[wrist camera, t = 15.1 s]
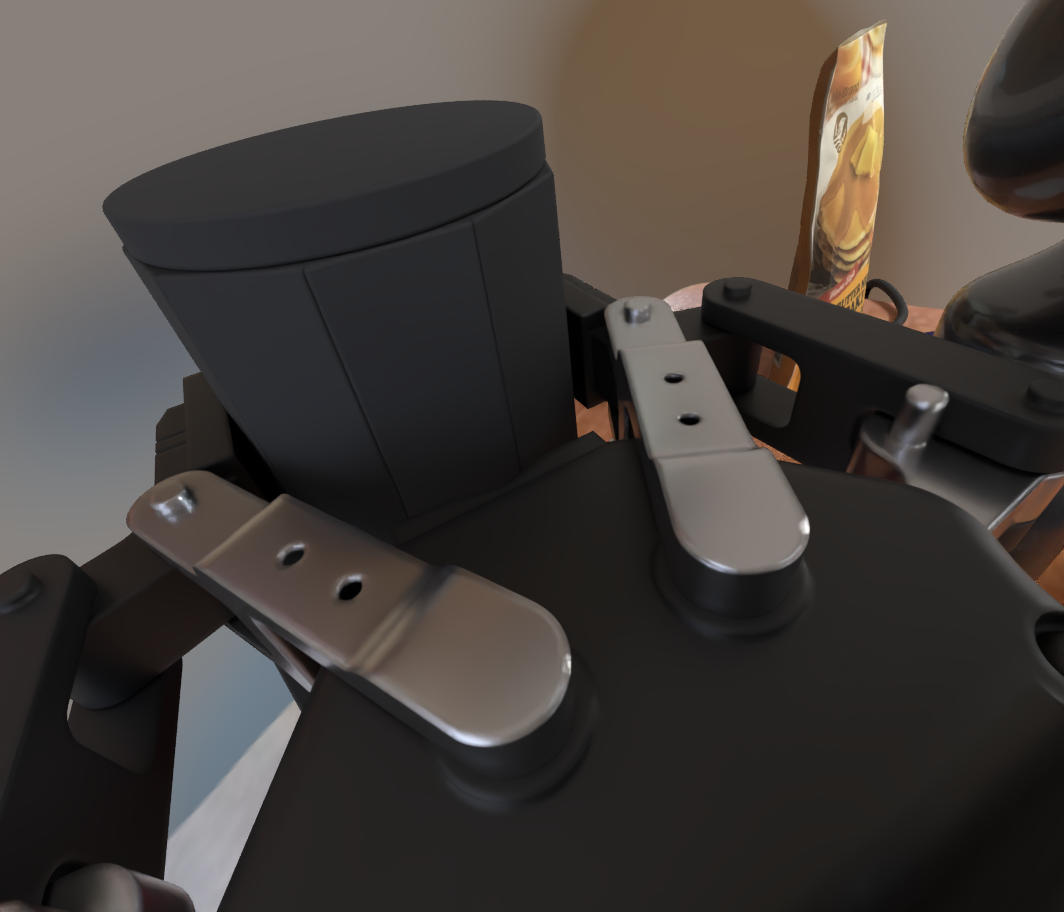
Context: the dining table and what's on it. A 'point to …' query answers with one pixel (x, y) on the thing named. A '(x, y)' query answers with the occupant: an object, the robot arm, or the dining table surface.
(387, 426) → the hat
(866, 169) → the pancake mix bag
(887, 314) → the dining table surface
